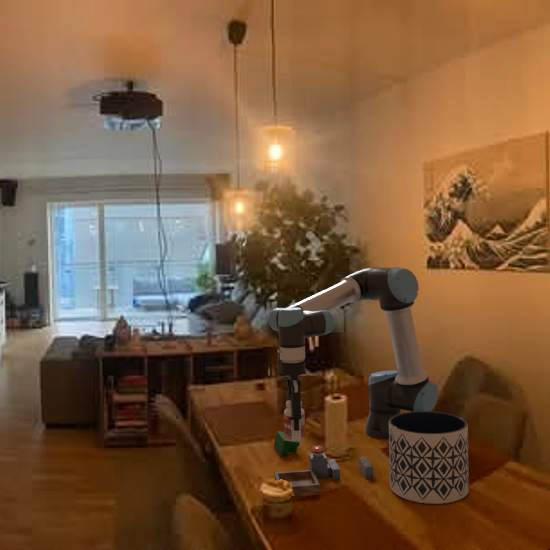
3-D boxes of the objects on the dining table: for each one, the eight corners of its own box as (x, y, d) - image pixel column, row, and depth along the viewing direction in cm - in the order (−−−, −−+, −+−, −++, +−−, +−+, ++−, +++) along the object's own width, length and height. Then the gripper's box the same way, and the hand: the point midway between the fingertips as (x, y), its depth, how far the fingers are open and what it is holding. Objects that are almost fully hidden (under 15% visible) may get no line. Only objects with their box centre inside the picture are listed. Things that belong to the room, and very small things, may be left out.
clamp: (294, 466, 221) (301, 446, 218) (277, 464, 220) (284, 444, 216) (289, 443, 232) (296, 423, 228) (273, 441, 230) (280, 421, 227)
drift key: (323, 467, 202) (322, 445, 202) (325, 472, 198) (325, 449, 198) (311, 468, 202) (310, 445, 201) (313, 473, 198) (312, 450, 197)
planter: (456, 512, 172) (454, 438, 170) (378, 496, 183) (376, 427, 182) (477, 483, 190) (476, 416, 189) (405, 470, 202) (404, 407, 201)
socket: (366, 467, 206) (366, 447, 206) (373, 478, 197) (372, 457, 197) (308, 471, 204) (307, 451, 204) (312, 482, 195) (312, 461, 195)
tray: (313, 479, 198) (312, 469, 198) (319, 494, 186) (319, 484, 186) (274, 481, 197) (274, 472, 196) (278, 497, 185) (278, 487, 185)
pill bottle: (280, 439, 190) (279, 402, 189) (293, 433, 195) (292, 397, 194) (296, 443, 186) (295, 405, 185) (309, 437, 191) (308, 400, 190)
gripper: (276, 355, 198) (279, 428, 199) (283, 367, 179) (286, 448, 180) (300, 353, 199) (302, 426, 200) (309, 366, 180) (312, 446, 181)
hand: (295, 436), depth 190 cm, fingers closed on pill bottle, 6 cm apart
